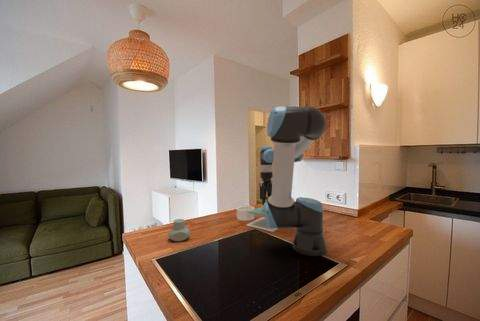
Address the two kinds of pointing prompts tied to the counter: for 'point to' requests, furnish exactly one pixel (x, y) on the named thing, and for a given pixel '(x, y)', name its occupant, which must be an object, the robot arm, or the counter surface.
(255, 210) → the lid
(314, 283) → the counter surface
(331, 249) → the counter surface
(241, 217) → the bowl
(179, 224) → the air freshener
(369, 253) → the counter surface
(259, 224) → the mat
